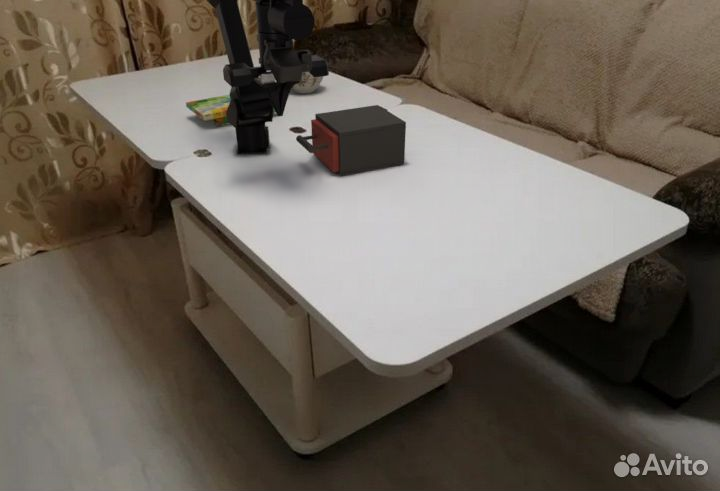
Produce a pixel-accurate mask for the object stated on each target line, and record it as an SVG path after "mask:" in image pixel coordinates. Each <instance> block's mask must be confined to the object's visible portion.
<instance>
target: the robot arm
mask: <svg viewBox="0 0 720 491" xmlns="http://www.w3.org/2000/svg"><path fill="white" fill-rule="evenodd" d="M238 1H239V0H206V2H208V4H209V5H210V6H211V7H213V9H214V10H215V15H216V18H217V21H218V25H219V29H220V33H221V38H222V41H223V44H224V49H225V52H226V56H227V59H228V64H224V66H223V69H222V76H223V80H224V81H225V82H226V83H227V84H228V85H229V86H230V91H229V95H230V99H231V101H230V104H229V106H228V109H227V111H226V116H227V120H228V123H229V124H228V125H231V126H232V127H233V128H235V137H236V138H235V139H236V146H237V148H236V155H262V154H263V155H264V154H268V149H269V148H270V145H271V144H270V130H269V126H268V125H266V123H269V122H270V123H271V122H273V118H274V115H273V109H275V114H276V116H277V117H283V116H284V112H285V109H286V105H287V103H288V98H289V95H290V93H291V91H292V90H293V89H292V88H293V86H294V85H295V84H298V83H300V80H301V79H302V72H309V73H310V74H311V75H312V76H313V77H321V76H323V77H327V76H329V75H330V69H329V68H330V67H329V66H330V65H329V63H328V61H327V60H325V59H324V58H323V57H320V56H319V55H317V54H313V55H312V52H311V50H310V49H301V50H295V47H294V41H298V42H299V41H303V40H306V39H307V38H309V37H310V35H312V32H314V28H315V22H316V21H315V17H314V14H313V12H312V10H311V8H309V6H308V5H305V4H304V0H252V1H254V2H255V3H254V4H255V16H256V25H257V26H256V27H257V34H256V41H257V42H258V51H259V57H258V64H259V66H255V65H254V62H253V58H252V55H251V54H252V53H251V49H250V47H249V46H250V45H249V43H248V38H247V34H246V31H245V27H244V23H243V19H242V14H241V11H240V7H239V4H238ZM293 40H294V41H293Z"/></svg>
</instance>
